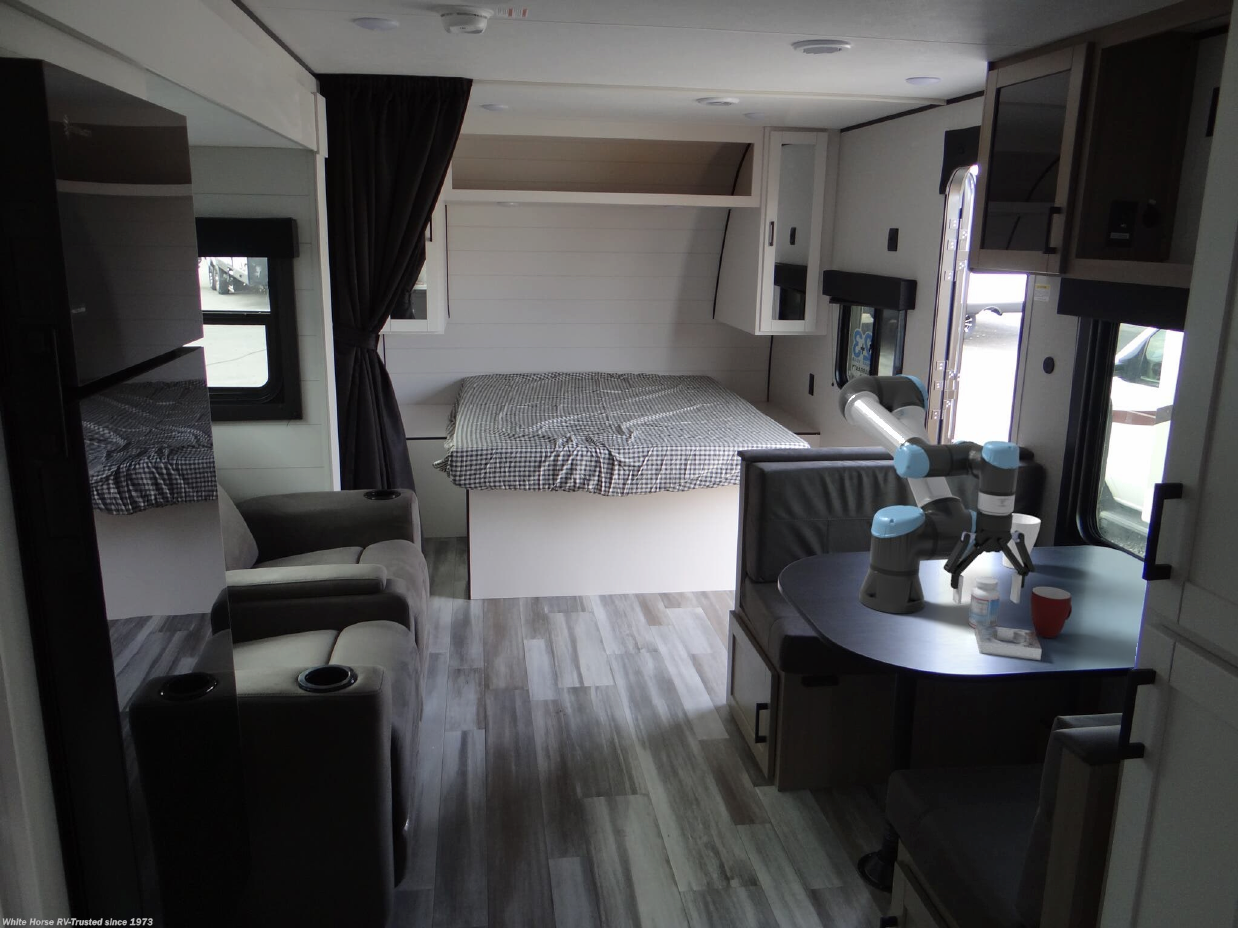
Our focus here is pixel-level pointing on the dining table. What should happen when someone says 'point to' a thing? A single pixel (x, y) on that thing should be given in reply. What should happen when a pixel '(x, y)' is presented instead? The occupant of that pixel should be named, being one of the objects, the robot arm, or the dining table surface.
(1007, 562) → the cup
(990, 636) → the block
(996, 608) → the pill bottle
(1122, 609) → the dining table surface
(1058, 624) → the mug
